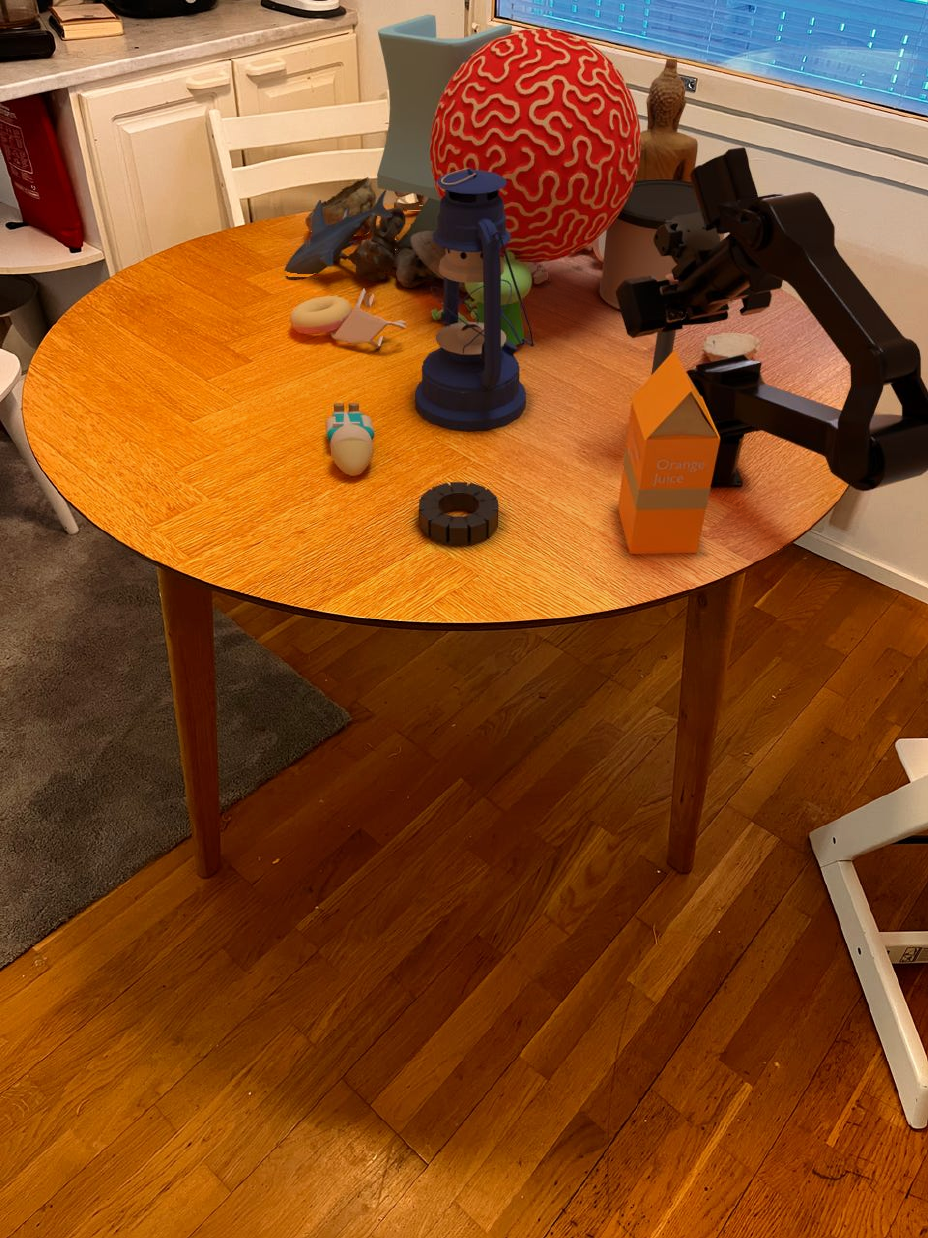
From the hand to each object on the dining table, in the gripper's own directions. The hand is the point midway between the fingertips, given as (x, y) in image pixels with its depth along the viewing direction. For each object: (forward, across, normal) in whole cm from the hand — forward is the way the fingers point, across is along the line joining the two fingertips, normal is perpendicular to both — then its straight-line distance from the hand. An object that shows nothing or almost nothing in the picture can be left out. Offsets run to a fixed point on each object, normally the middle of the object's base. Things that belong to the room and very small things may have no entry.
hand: (661, 323), depth 119 cm
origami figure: (+34, +26, -18) cm, 46 cm away
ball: (+34, -1, -31) cm, 46 cm away
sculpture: (+47, -32, -28) cm, 63 cm away
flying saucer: (+41, +10, -27) cm, 50 cm away
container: (+33, -22, -14) cm, 42 cm away
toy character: (+31, +10, -12) cm, 35 cm away
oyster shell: (+54, +14, -41) cm, 69 cm away
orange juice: (-6, +12, +25) cm, 29 cm away
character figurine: (+38, -21, -26) cm, 51 cm away
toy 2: (+19, +37, -2) cm, 42 cm away
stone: (+18, -22, 0) cm, 29 cm away
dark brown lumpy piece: (+44, +14, -40) cm, 61 cm away
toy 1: (+48, +23, -41) cm, 67 cm away
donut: (+40, +36, -23) cm, 59 cm away
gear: (+1, +32, +18) cm, 37 cm away
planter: (+51, +5, -32) cm, 61 cm away
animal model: (+60, +6, -47) cm, 76 cm away
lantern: (+18, +20, 0) cm, 27 cm away
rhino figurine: (+46, +10, -32) cm, 57 cm away
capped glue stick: (+4, 0, +6) cm, 7 cm away
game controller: (+42, -9, -24) cm, 49 cm away
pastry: (+60, +19, -51) cm, 80 cm away
